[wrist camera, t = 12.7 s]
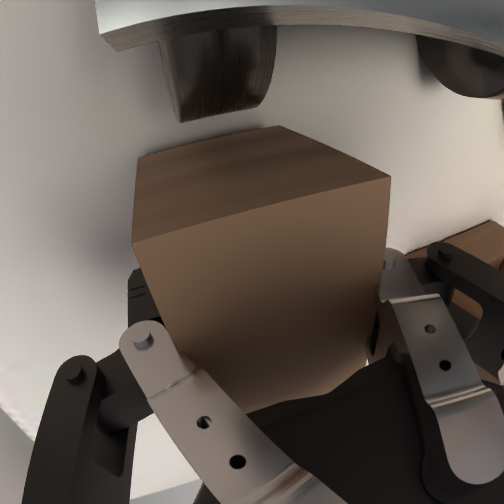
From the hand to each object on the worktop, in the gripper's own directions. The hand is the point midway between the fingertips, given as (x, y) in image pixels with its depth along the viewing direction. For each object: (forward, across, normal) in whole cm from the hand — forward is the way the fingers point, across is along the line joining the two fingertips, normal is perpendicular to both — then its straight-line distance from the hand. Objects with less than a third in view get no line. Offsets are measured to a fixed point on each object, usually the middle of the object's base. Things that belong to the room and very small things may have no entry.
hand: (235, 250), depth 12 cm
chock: (+1, 0, 0) cm, 1 cm away
